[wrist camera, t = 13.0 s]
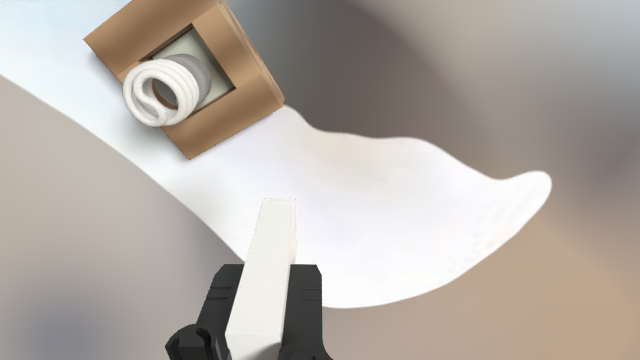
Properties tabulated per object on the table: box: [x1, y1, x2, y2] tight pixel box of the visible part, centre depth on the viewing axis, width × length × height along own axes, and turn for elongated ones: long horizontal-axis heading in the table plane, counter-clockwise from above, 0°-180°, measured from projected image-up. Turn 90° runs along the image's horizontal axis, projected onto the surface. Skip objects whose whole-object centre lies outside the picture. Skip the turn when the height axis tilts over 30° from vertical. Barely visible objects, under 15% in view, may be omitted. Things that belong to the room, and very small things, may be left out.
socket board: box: [83, 0, 285, 160], centre depth 34 cm, size 16×14×4 cm
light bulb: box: [123, 54, 212, 127], centre depth 30 cm, size 6×6×12 cm
